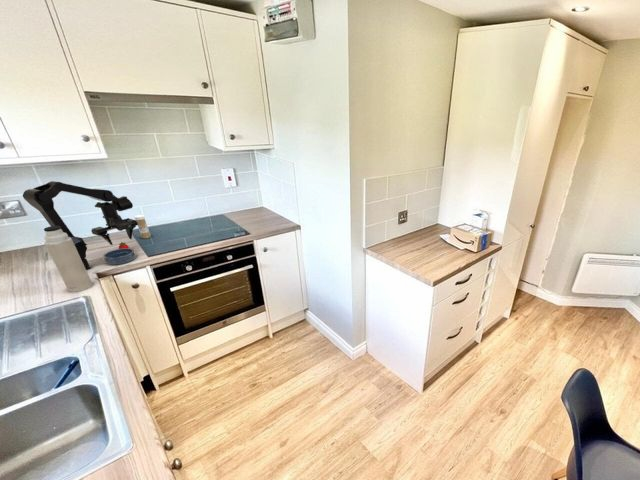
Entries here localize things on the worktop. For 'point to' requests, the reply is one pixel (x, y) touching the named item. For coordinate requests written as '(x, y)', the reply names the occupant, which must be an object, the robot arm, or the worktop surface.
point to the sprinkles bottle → (142, 226)
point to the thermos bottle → (66, 259)
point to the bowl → (119, 256)
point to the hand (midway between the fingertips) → (121, 241)
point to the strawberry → (123, 246)
